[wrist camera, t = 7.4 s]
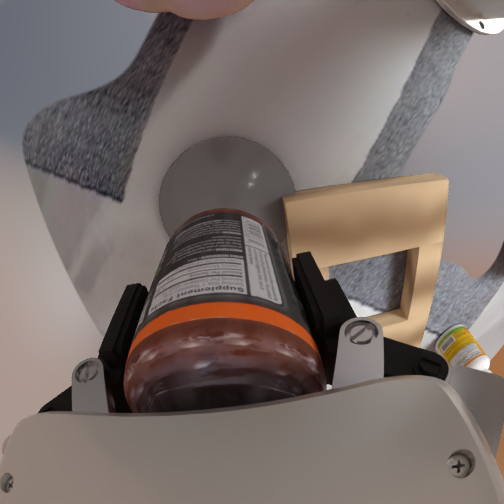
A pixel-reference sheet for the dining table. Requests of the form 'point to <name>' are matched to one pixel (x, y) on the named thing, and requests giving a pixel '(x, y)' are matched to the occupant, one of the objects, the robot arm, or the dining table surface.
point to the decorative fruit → (189, 7)
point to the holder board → (377, 236)
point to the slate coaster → (226, 183)
